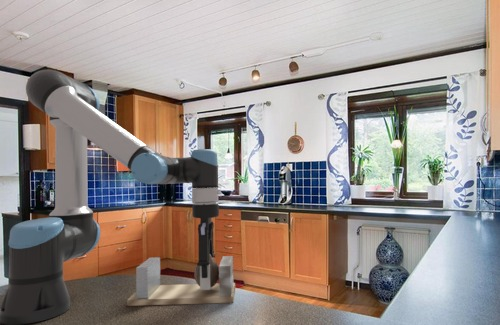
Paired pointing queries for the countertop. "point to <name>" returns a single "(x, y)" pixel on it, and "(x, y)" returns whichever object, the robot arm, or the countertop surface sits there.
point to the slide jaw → (148, 277)
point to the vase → (213, 272)
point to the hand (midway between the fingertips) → (207, 284)
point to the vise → (193, 290)
